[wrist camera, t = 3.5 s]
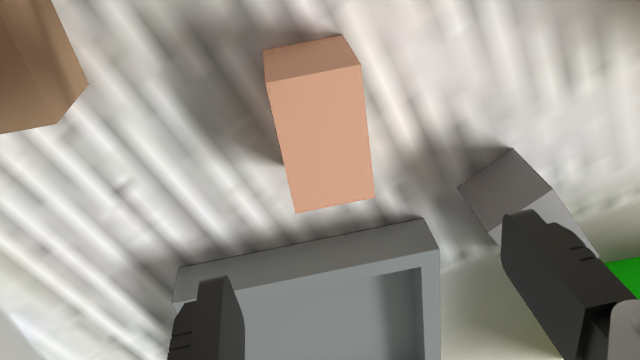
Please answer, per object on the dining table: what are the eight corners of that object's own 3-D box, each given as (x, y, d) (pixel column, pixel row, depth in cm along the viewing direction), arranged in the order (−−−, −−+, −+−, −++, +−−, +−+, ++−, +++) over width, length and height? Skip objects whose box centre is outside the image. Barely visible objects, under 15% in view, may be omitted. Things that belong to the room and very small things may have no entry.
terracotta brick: (262, 49, 20) (265, 83, 16) (342, 34, 20) (360, 64, 16) (288, 166, 23) (295, 213, 20) (357, 152, 23) (375, 197, 20)
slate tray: (178, 268, 26) (171, 303, 23) (423, 218, 26) (439, 248, 24) (240, 405, 33) (239, 442, 31) (428, 366, 34) (441, 399, 31)
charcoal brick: (456, 186, 25) (487, 232, 22) (511, 146, 24) (553, 189, 21) (505, 244, 28) (540, 292, 25) (557, 210, 27) (599, 256, 24)
